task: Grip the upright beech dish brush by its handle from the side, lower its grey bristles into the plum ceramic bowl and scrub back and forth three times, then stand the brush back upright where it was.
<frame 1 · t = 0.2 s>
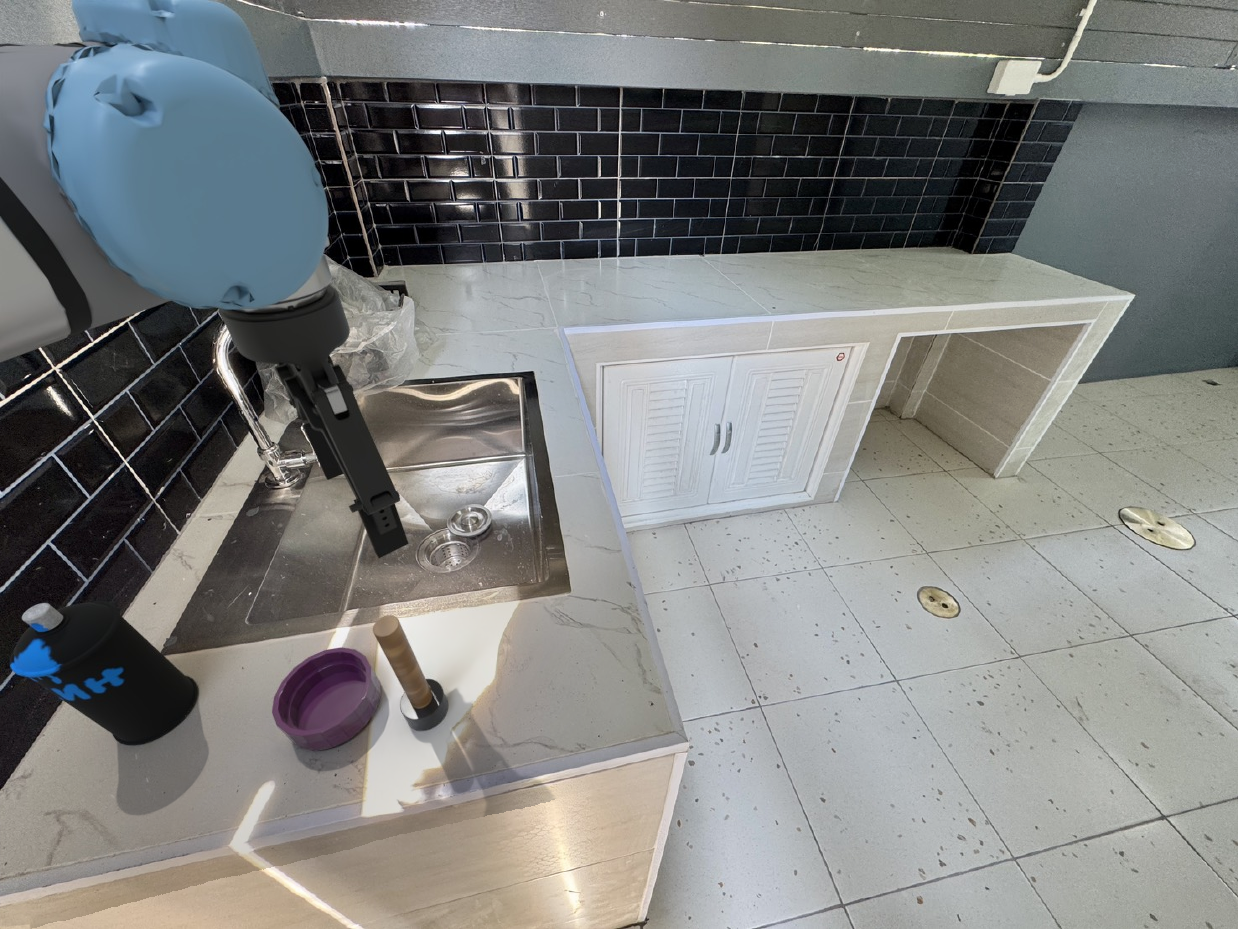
hand: (364, 508, 49), 26 cm above the worktop, tool pointing down, fingers open, 13 cm apart
plum bowl: (336, 706, 60), on the worktop
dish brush: (427, 710, 60), on the worktop
aerosol can: (158, 710, 60), on the worktop
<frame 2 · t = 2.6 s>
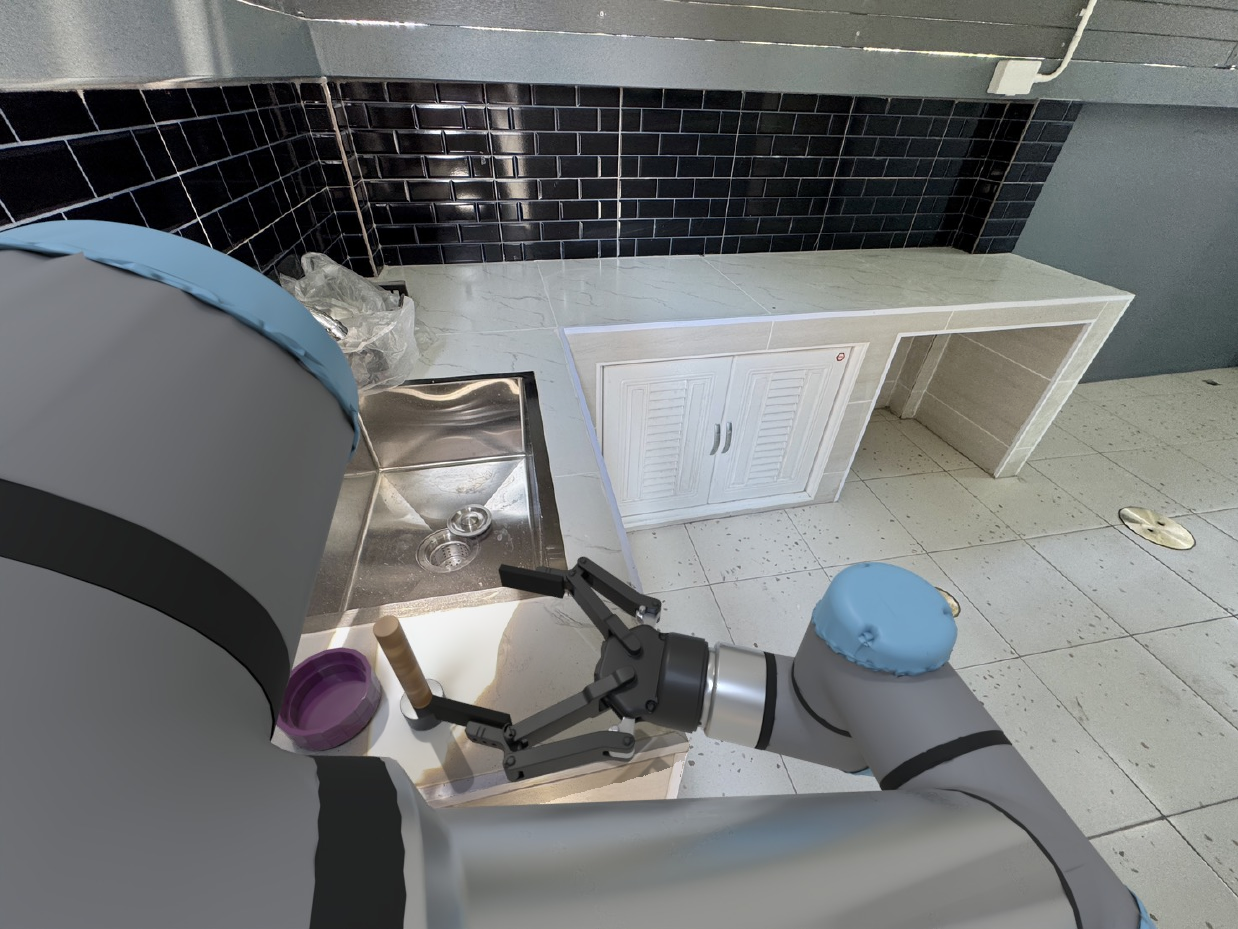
hand: (471, 633, 46), 20 cm above the worktop, tool horizontal, fingers open, 13 cm apart
nothing on the worktop moved.
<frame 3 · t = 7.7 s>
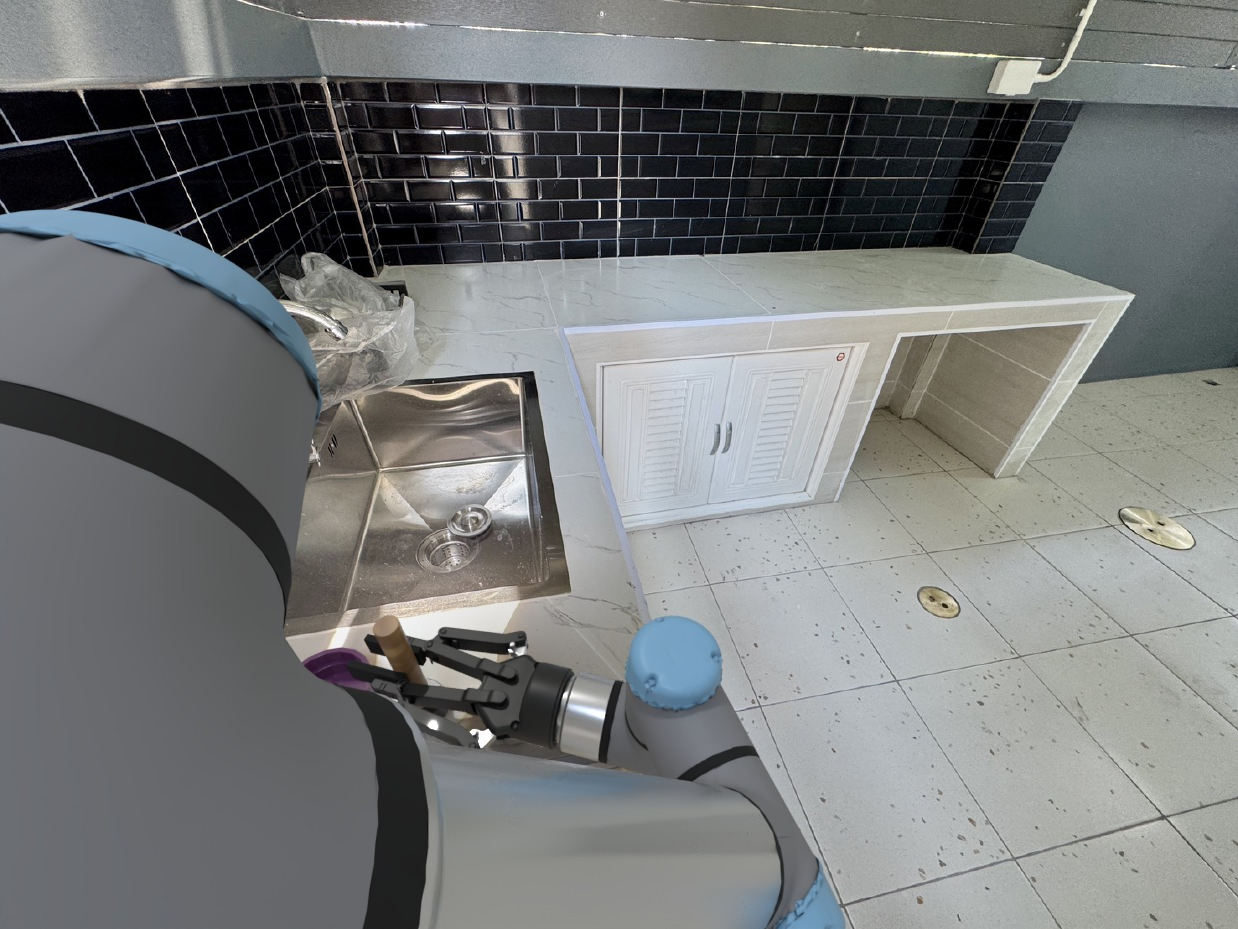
hand: (361, 656, 55), 10 cm above the worktop, tool horizontal, fingers closed on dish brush, 2 cm apart
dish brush: (427, 710, 60), on the worktop, touching gripper
everything else where it was.
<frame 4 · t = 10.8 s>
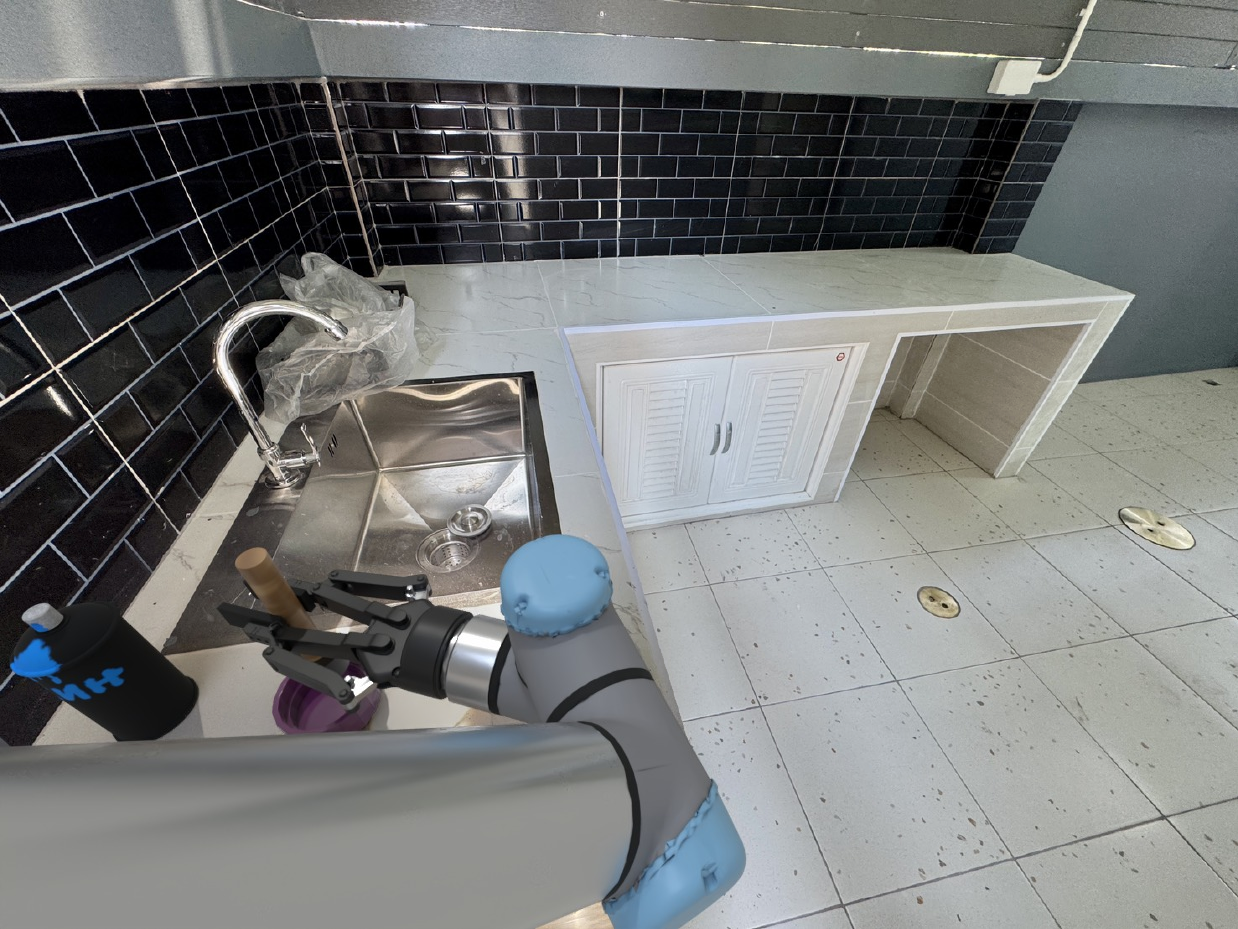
hand: (239, 600, 49), 20 cm above the worktop, tool horizontal, fingers closed on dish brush, 2 cm apart
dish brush: (325, 666, 54), point 10 cm above the worktop, touching gripper
everything else where it was.
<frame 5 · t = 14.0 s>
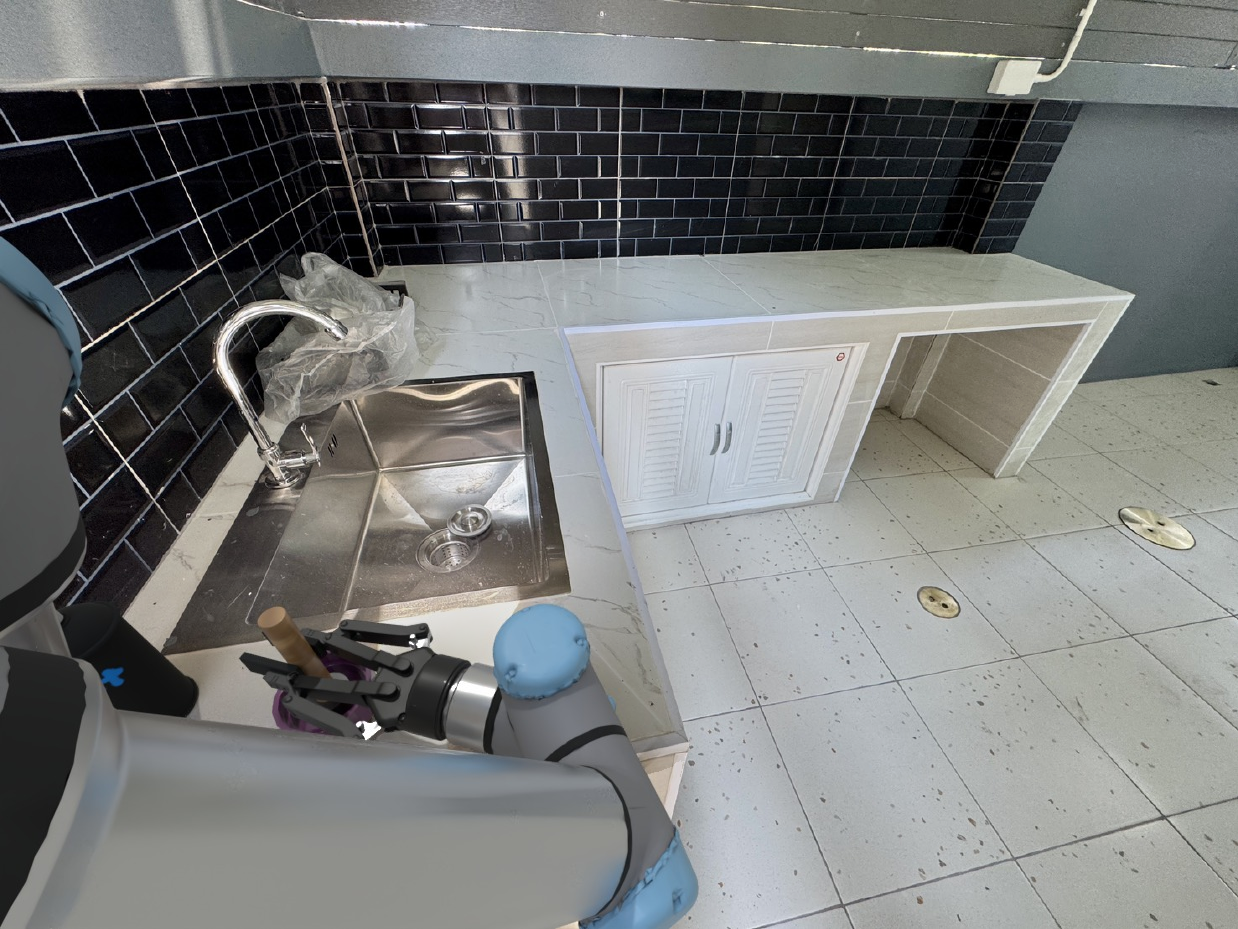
hand: (259, 648, 54), 11 cm above the worktop, tool horizontal, fingers closed on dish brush, 2 cm apart
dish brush: (335, 704, 60), point 1 cm above the worktop, touching gripper
everything else where it was.
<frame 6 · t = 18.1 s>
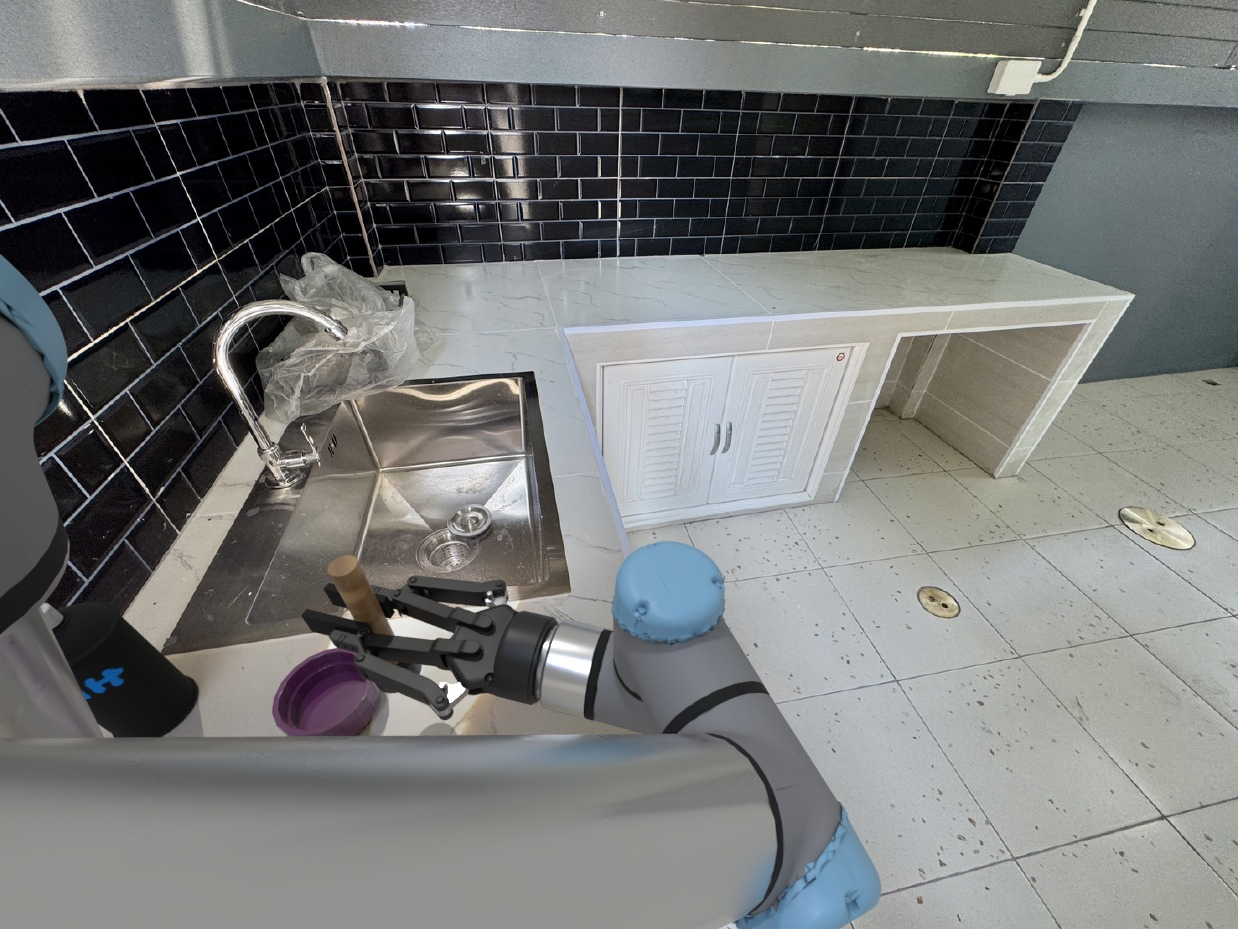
hand: (320, 607, 49), 19 cm above the worktop, tool horizontal, fingers closed on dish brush, 2 cm apart
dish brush: (398, 671, 55), point 9 cm above the worktop, touching gripper
everything else where it was.
when the fingers open (10 cm above the worktop, at t = 20.7 s): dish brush stays where it is, on the worktop.
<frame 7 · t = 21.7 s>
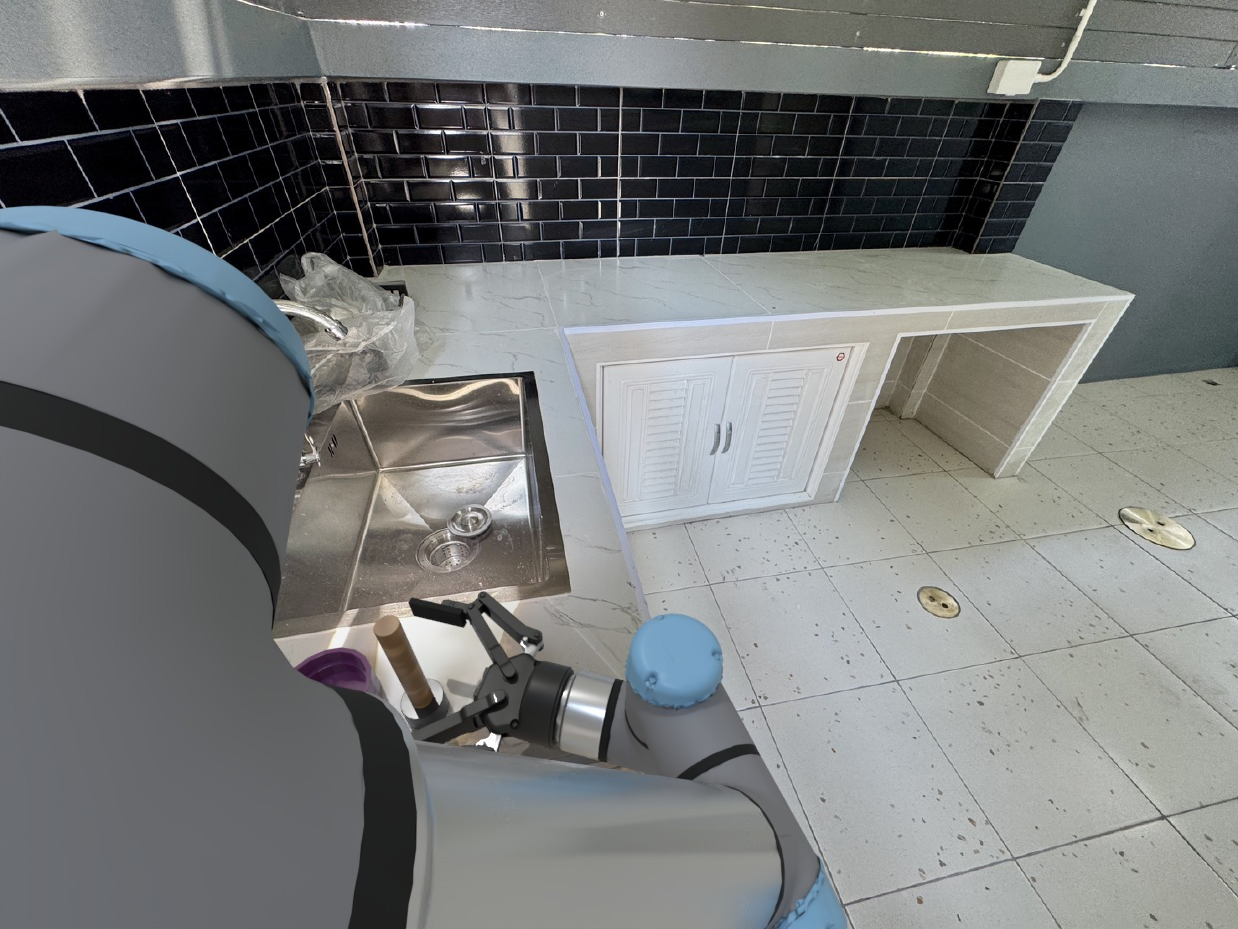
hand: (378, 659, 54), 10 cm above the worktop, tool horizontal, fingers open, 13 cm apart
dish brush: (427, 710, 60), on the worktop
everything else where it was.
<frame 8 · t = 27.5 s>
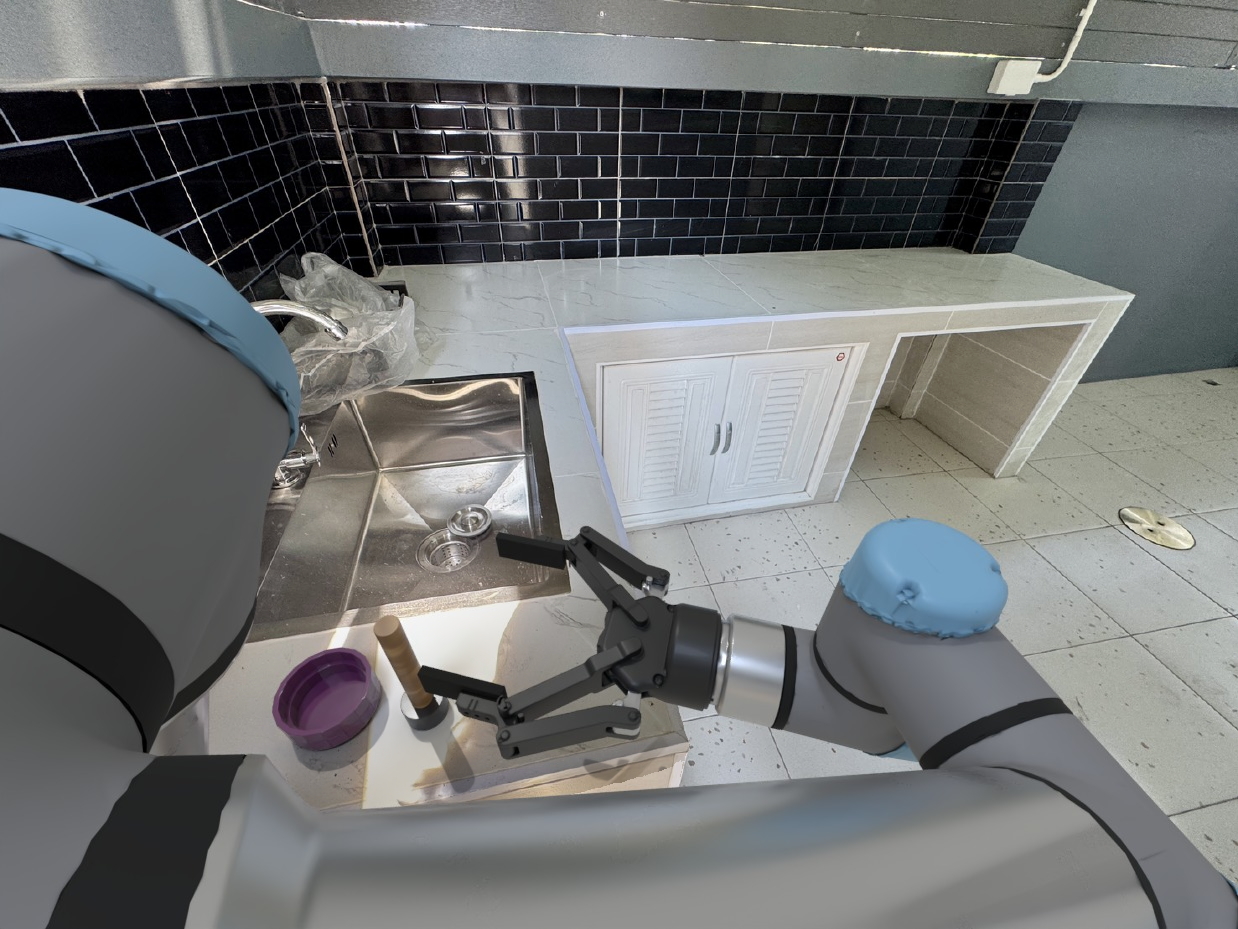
hand: (465, 603, 43), 25 cm above the worktop, tool horizontal, fingers open, 13 cm apart
nothing on the worktop moved.
at the end: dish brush tilted 0°; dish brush inside the target area (0.0 cm from its centre), on the worktop; the gripper is holding nothing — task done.
